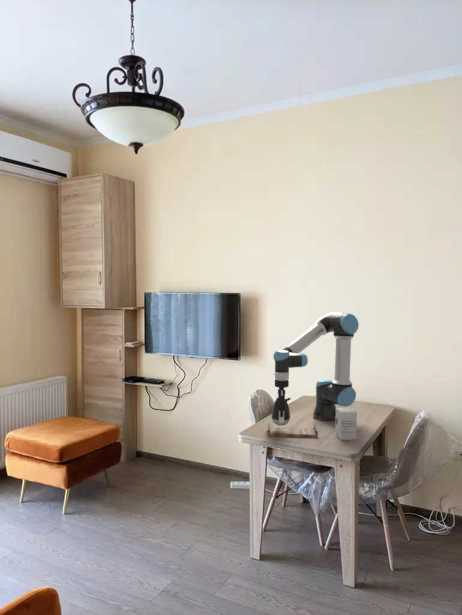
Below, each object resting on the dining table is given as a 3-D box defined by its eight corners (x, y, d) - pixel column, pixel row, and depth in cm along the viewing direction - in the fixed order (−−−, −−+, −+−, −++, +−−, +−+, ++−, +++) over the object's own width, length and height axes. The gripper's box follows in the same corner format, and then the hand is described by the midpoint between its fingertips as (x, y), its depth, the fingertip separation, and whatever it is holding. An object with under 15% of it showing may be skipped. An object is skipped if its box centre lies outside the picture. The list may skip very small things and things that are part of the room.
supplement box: (334, 435, 259) (335, 407, 258) (351, 434, 259) (351, 407, 259) (340, 440, 250) (340, 411, 249) (356, 440, 250) (357, 411, 250)
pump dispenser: (292, 426, 256) (293, 398, 256) (273, 427, 255) (274, 398, 254) (287, 421, 267) (288, 394, 266) (269, 421, 265) (269, 394, 265)
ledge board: (315, 431, 266) (315, 424, 265) (317, 437, 254) (317, 431, 253) (268, 429, 268) (268, 423, 267) (268, 436, 256) (268, 429, 255)
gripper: (274, 375, 271) (273, 414, 272) (275, 383, 249) (274, 425, 250) (287, 375, 271) (287, 414, 272) (289, 383, 248) (288, 426, 249)
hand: (281, 419), depth 261 cm, fingers closed on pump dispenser, 10 cm apart
